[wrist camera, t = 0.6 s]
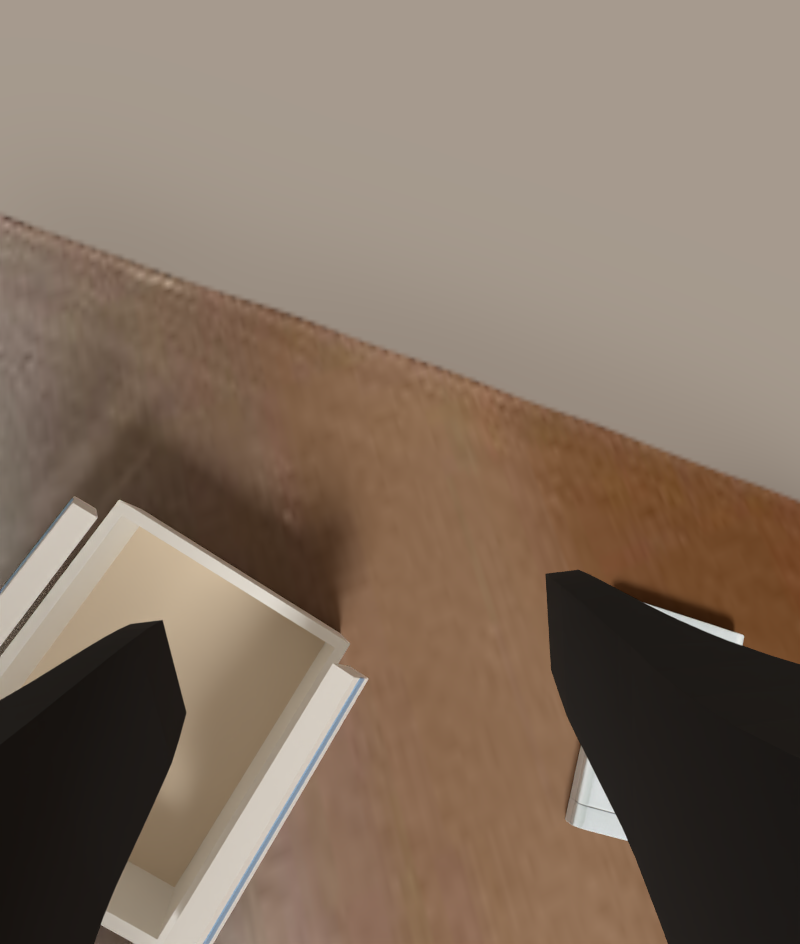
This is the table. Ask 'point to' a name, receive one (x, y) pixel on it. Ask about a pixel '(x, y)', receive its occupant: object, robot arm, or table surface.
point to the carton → (184, 690)
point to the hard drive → (587, 793)
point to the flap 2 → (267, 809)
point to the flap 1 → (43, 562)
